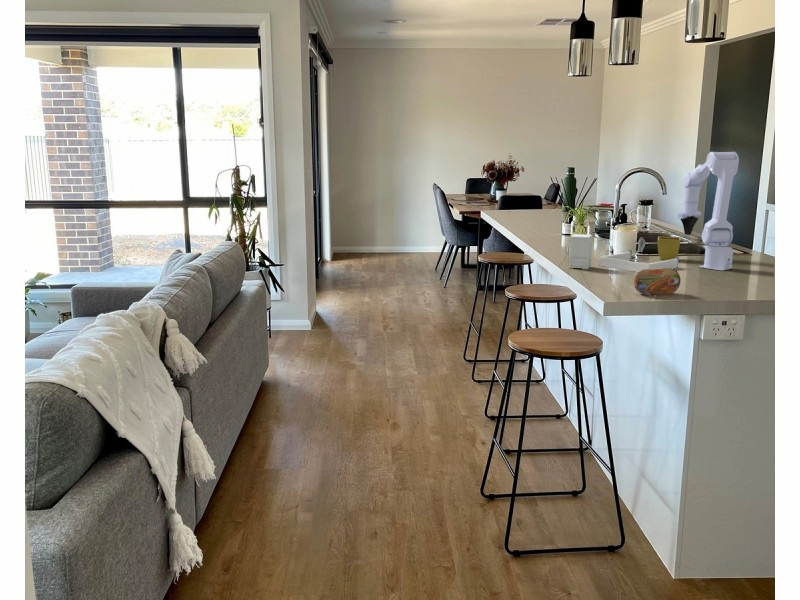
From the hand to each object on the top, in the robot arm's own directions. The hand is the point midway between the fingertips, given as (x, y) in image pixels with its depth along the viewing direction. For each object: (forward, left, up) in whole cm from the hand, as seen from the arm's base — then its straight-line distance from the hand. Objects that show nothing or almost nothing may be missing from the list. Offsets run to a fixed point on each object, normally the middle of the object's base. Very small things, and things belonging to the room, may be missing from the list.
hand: (687, 234), depth 292 cm
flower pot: (+1, +12, -10) cm, 15 cm away
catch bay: (-1, +36, -10) cm, 37 cm away
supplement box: (+12, +56, -10) cm, 58 cm away
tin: (-33, +76, -10) cm, 83 cm away
